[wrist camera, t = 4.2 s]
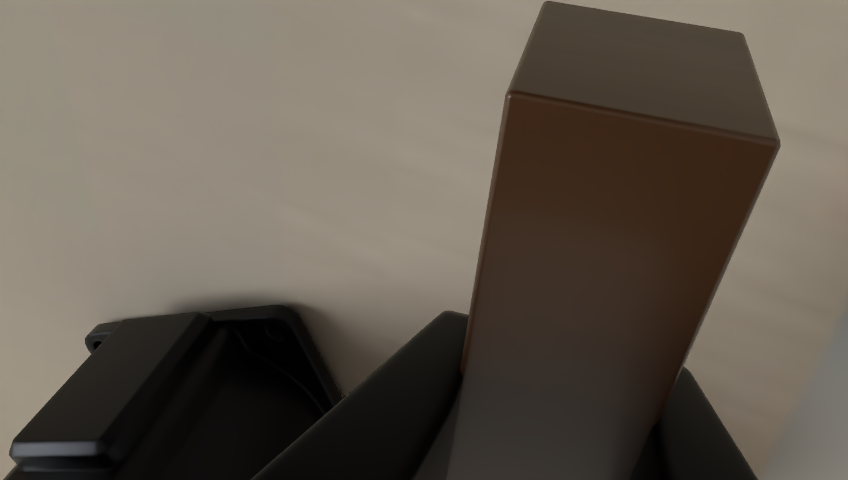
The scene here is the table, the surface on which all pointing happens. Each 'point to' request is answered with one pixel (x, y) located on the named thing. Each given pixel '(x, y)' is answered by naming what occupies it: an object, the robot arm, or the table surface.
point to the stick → (603, 238)
